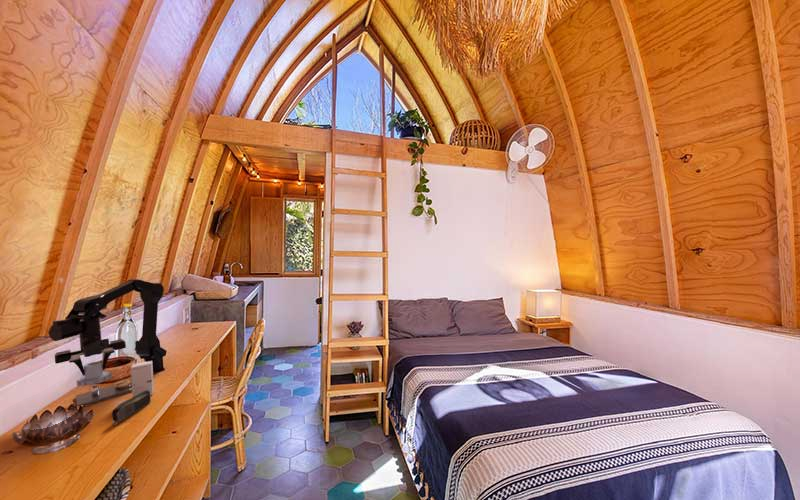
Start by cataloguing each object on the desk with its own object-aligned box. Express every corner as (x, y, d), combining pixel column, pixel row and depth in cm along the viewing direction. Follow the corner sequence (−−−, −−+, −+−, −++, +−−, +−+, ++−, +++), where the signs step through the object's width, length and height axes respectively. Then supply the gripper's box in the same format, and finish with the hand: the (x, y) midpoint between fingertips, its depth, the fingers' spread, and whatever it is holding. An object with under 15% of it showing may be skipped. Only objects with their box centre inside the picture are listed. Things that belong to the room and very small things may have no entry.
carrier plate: (137, 380, 131) (136, 369, 131) (142, 388, 124) (142, 377, 123) (75, 398, 118) (74, 386, 118) (77, 408, 110) (76, 395, 110)
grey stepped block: (109, 373, 124) (108, 357, 124) (112, 379, 118) (111, 362, 118) (76, 381, 117) (74, 365, 117) (77, 388, 111) (76, 371, 111)
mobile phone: (143, 389, 112) (105, 411, 97) (151, 388, 112) (115, 410, 97) (144, 403, 112) (106, 427, 97) (152, 402, 112) (116, 426, 97)
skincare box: (132, 400, 114) (129, 368, 113) (134, 395, 118) (131, 364, 117) (153, 395, 117) (150, 363, 117) (154, 390, 121) (152, 359, 121)
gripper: (53, 343, 104) (57, 388, 105) (126, 329, 118) (130, 369, 119) (52, 337, 112) (56, 380, 112) (121, 324, 126) (125, 362, 126)
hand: (93, 372), depth 117 cm, fingers closed on grey stepped block, 5 cm apart
